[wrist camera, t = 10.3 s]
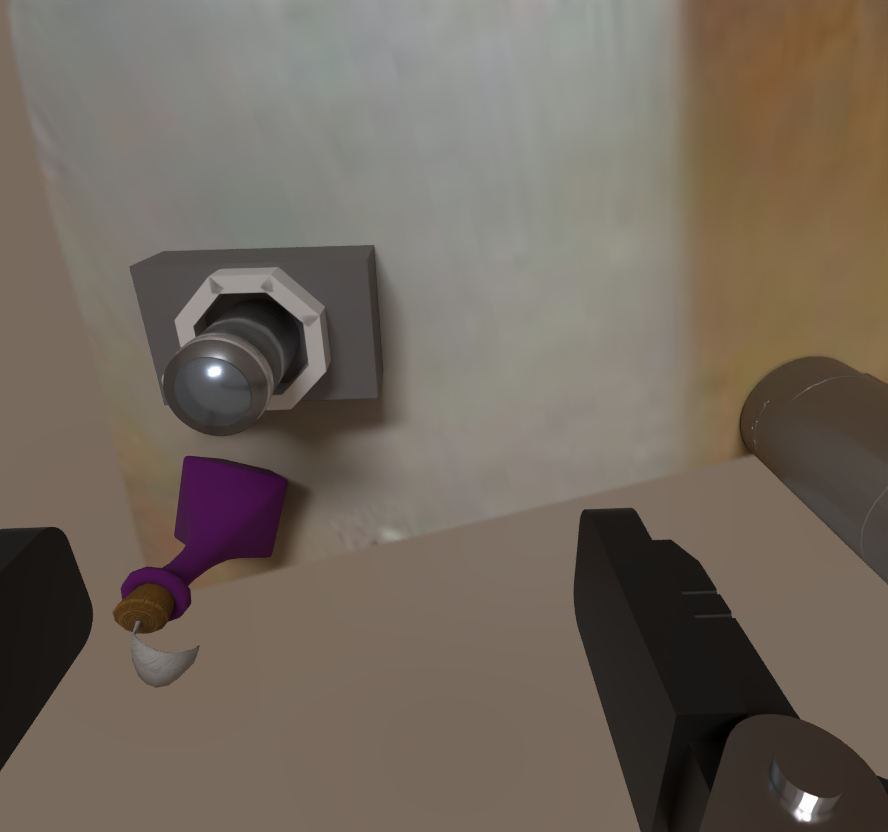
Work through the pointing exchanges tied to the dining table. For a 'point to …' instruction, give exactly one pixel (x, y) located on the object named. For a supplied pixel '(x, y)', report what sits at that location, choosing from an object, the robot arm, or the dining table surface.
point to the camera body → (289, 285)
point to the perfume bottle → (200, 552)
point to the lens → (232, 368)
